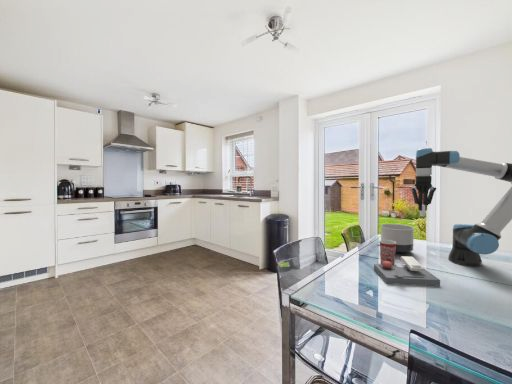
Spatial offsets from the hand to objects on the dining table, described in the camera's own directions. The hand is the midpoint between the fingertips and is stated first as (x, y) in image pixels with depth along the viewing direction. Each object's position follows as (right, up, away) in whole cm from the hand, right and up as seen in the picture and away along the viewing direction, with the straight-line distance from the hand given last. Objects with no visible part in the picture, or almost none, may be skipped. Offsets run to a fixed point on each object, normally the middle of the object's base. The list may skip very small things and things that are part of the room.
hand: (422, 216), depth 135 cm
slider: (-25, -28, -19) cm, 42 cm away
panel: (-19, -31, -13) cm, 38 cm away
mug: (-16, -30, +7) cm, 34 cm away
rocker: (-14, -24, -11) cm, 30 cm away
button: (-25, -27, -8) cm, 38 cm away
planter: (+1, -28, +27) cm, 39 cm away
